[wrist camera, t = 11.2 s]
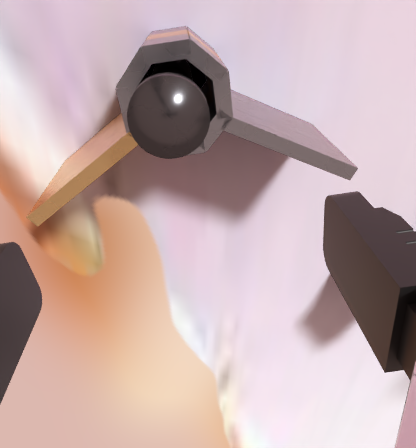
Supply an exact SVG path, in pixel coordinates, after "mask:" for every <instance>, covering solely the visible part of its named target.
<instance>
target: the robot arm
mask: <svg viewBox="0 0 416 448" xmlns="http://www.w3.org/2000/svg"><path fill="white" fill-rule="evenodd" d="M323 251H324V257H325V262H326V265H327V267H328V270H329V271H330V273H331V275H332V277H333V279H334V281H335V282H336V284H337V286H338V288H339V290H340V292H341V293H342V295H343V297H344V299H345V301H346V303H347V304H348V306H349V308H350V310H351V312H352V313H353V315H354V317H355V319H356V321H357V323H358V324H359V326H360V328H361V330H362V332H363V334H364V335H365V337H366V339H367V341H368V343H369V345H370V346H371V348H372V350H373V352H374V354H375V356H376V357H377V359H378V361H379V363H380V365H381V366H382V368H383V370H384V372H385V373H386V372H392V371H399V370H404V371H405V372H406V374H407V376H408V377H409V379H410V385H409V389H408V393H407V397H406V402H405V406H404V410H403V414H402V419H401V423H400V427H399V431H398V436H397V440H396V444H395V448H416V231H415V232H414V231H413V228H412V227H411V226H410V225H409V224H408V223H407V222H406V221H405V220H404V219H403V218H402V217H401V216H399V215H397V214H395V213H392V212H390V211H388V210H386V209H384V208H382V207H381V208H373V206H372V205H371V204H370V203H369V202H368V201H367V200H366V199H365V198H364V197H363V196H362V194H361V193H359V192H350V193H343V194H336V195H330V196H327V197H326V200H325V210H324V237H323ZM41 306H42V294H41V290H40V287H39V285H38V283H37V281H36V278H35V277H34V274H33V272H32V270H31V268H30V266H29V264H28V262H27V260H26V258H25V256H24V254H23V252H22V250H21V248H20V246H19V245H18V244H16V243H14V242H9V243H3V244H0V403H1V401H2V399H3V397H4V394H5V392H6V390H7V387H8V385H9V383H10V380H11V378H12V375H13V373H14V371H15V369H16V366H17V364H18V362H19V359H20V357H21V355H22V352H23V350H24V348H25V345H26V343H27V341H28V338H29V336H30V334H31V331H32V329H33V327H34V325H35V322H36V320H37V318H38V315H39V313H40V310H41Z"/></svg>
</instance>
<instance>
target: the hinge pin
mask: <svg viewBox="0 0 416 448" xmlns="http://www.w3.org/2000/svg"><path fill="white" fill-rule="evenodd" d="M127 122H128V127H129V130H130V133H131V135H132V137H133V138H134V140H135V141H136V142H137V144H138V145H139V146H140V147H141V148H142V149H144V150H145V151H146V152H148V153H150V154H152V155H154V156H157V157H160V158H168V159H172V158H179V157H183V156H186V155H188V154H190V153H191V152H193V151H194V150H196V149H197V148H198V147H199V146H200V145H201V144H202V142H203V141H204V139H205V137H206V135H207V133H208V130H209V125H210V112H209V107H208V103H207V100H206V98H205V96H204V94H203V92H202V91H201V89H200V88H199V87H198V86H197V84H195V83H194V82H193V79H192V73H191V68H190V66H189V63H188V62H187V61H186V59H182V60H175V61H168V62H162V63H156V64H155V66H154V69H153V72H152V75H151V76H150V77H148V78H146V79H145V80H144V81H142V82H141V83H140V84H139V85H138V87H137V88H136V89H135V91H134V93H133V95H132V97H131V99H130V102H129V105H128V109H127Z"/></svg>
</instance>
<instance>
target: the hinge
mask: <svg viewBox="0 0 416 448" xmlns="http://www.w3.org/2000/svg"><path fill="white" fill-rule="evenodd" d="M182 59H187V60H188V61H189V62H190V63H192V64H193V65H194V66H195V67H197V68H198V69H199V70H200V71H202V72H203V73H204V74H205V77H206V82H205V83H204V85H203V86H202V88H201V91H202V92H203V94H204V96H205V98H206V100H207V103H208V107H209V112H210V125H209V130H208V133H207V135H206V137H205V139H204V141H203V142H202V144H201V145H200V146H199V147H198V148H197V149H196V150H194V151H193V152H191V153H190V154H188V155H192V154H199V153H205V151H206V152H207V151H208V149H209V148H210V147H211V146H212V144H213V143H214V142H215V140H216V139H217V138H218V137H219V135H220V134H221V133H222V132H223V131H225V132H228V133H230V134H233V135H236V136H238V137H241V138H243V139H246V140H248V141H251V142H253V143H256V144H258V145H261V146H264V147H266V148H269V149H271V150H274V151H276V152H279V153H281V154H284V155H287V156H289V157H292V158H294V159H297V160H299V161H302V162H304V163H307V164H309V165H312V166H315V167H317V168H320V169H322V170H325V171H327V172H330V173H332V174H335V175H337V176H340V177H343V178H345V179H348V180H351V178H352V177H353V175H354V173H355V172H356V170H357V169H358V168H357V167H356V166H355V165H354V164H353V163H352V162H351V161H350V160H349V159H348V158H347V157H346V156H345V155H344V154H343V153H342V152H341V151H340V150H339V149H338V148H336V147H335V146H334V145H333V144H332V143H331V142H330V141H329V140H328V139H327V138H326V137H325V136H324V135H323V134H322V133H321V132H320V131H319V130H318V129H317V128H316V127H315V126H313V125H312V124H310V123H308V122H306V121H303V120H301V119H299V118H296V117H294V116H292V115H289V114H287V113H285V112H282V111H280V110H278V109H275V108H273V107H270V106H268V105H266V104H263V103H261V102H259V101H256V100H254V99H252V98H249V97H247V96H245V95H242V94H240V93H237V92H235V91H233V90H231V89H230V79H229V71H228V69H227V68H226V66H225V65H224V63H223V62H222V61H221V59H220V58H219V56H218V55H217V53H216V52H215V50H214V49H213V48H212V47H211V46H210V45H208V44H207V43H206V42H205V41H204V40H203V39H201V38H200V37H199V36H198V35H197V34H195V33H194V32H193V31H192V30H191V29H189V28H188V27H187V28H186V26H184V27H177V28H171V29H164V30H158V31H152V32H151V33H150V35H149V36H148V37H147V39H146V40H145V42H144V43H143V44H142V46H141V47H140V49H139V50H138V52H137V53H136V55H135V57H134V58H133V60H132V62H131V63H130V65H129V66H128V68H127V70H126V71H125V73H124V75H123V76H122V78H121V79H120V81H119V83H118V84H117V86H116V93H117V97H118V101H119V105H120V109H121V113H120V114H119V115H118V116H117V117H116V118H114V119H113V120H112V121H111V122H110V123H109V124H107V125H106V126H105V127H104V128H103V129H102V130H100V131H99V132H98V133H97V134H96V135H95V136H94V137H92V138H91V139H90V140H89V141H88V142H87V143H85V144H84V145H83V146H82V147H81V148H80V149H78V150H77V151H76V152H75V153H74V154H73V155H71V156H70V157H69V158H68V159H67V160H66V161H65V162H64V163H63V164H62V166H61V167H60V169H59V170H58V172H57V173H56V175H55V176H54V178H53V179H52V181H51V182H50V183H49V185H48V186H47V188H46V189H45V191H44V192H43V194H42V195H41V197H40V198H39V200H38V201H37V202H36V204H35V205H34V207H33V208H32V210H31V211H30V213H29V214H28V216H27V217H26V218H28V219H29V220H30V221H31V222H33V223H34V224H35V225H36V226H39V225H41V224H42V223H43V222H44V221H45V220H47V219H48V218H49V217H50V216H52V215H53V214H54V213H55V212H57V211H58V210H59V209H60V208H61V207H63V206H64V205H65V204H66V203H68V202H69V201H70V200H71V199H72V198H74V197H75V196H76V195H77V194H79V193H80V192H81V191H82V190H84V189H85V188H86V187H87V186H88V185H90V184H91V183H92V182H93V181H95V180H96V179H97V178H98V177H99V176H101V175H102V174H103V173H104V172H106V171H107V170H108V169H109V168H111V167H112V166H113V165H114V164H115V163H117V162H118V161H119V160H120V159H122V158H123V157H124V156H125V155H126V154H128V153H129V152H130V151H131V150H133V149H134V148H135V147H136V146H138V144H137V142H136V141H135V140H134V138H133V137H132V135H131V133H130V130H129V127H128V122H127V109H128V105H129V102H130V99H131V97H132V95H133V93H134V91H135V89H136V88H137V87H138V85H139V84H140V83H141V82H142V81H144V80H145V79H146V78H148V72H147V71H148V69H149V68H150V66H151V65H152V64H155V63H162V62H168V61H175V60H182Z"/></svg>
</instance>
